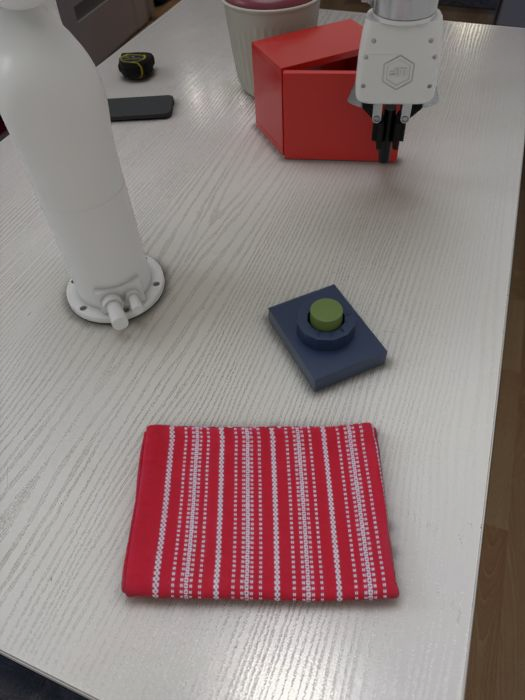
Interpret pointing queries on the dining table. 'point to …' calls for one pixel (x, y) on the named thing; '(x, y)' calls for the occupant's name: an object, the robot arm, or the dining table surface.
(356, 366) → the panel
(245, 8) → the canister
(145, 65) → the tape measure
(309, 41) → the cabinet
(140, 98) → the phone
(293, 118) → the door
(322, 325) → the button
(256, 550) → the dish towel
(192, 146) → the dining table surface
